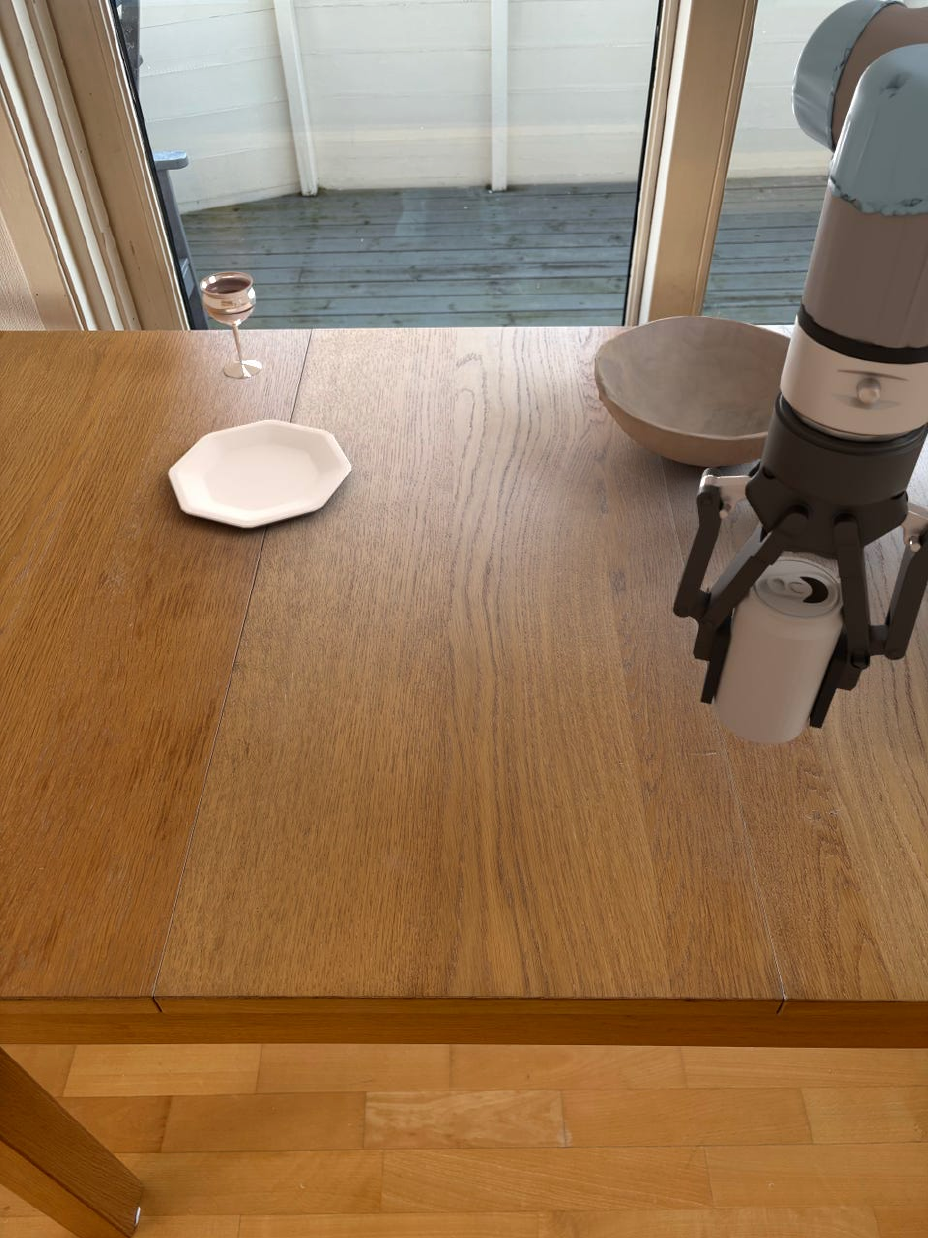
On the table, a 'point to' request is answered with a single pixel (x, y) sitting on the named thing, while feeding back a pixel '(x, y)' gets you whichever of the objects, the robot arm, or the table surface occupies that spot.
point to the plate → (259, 474)
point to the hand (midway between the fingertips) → (761, 700)
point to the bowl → (694, 387)
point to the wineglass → (231, 311)
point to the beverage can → (779, 651)
